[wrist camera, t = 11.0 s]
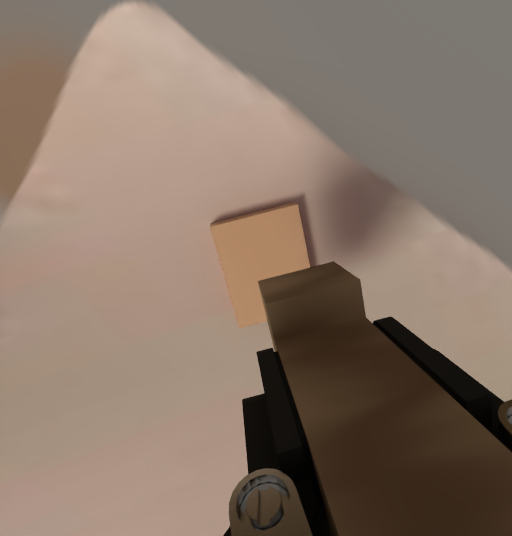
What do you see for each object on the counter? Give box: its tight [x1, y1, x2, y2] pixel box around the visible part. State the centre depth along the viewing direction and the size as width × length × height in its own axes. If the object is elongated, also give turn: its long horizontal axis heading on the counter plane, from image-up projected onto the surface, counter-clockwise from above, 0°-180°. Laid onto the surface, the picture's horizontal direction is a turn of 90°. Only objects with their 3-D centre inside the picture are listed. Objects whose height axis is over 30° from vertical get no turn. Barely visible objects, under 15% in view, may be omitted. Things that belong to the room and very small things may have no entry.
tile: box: [210, 203, 310, 328], centre depth 21 cm, size 2×7×6 cm
